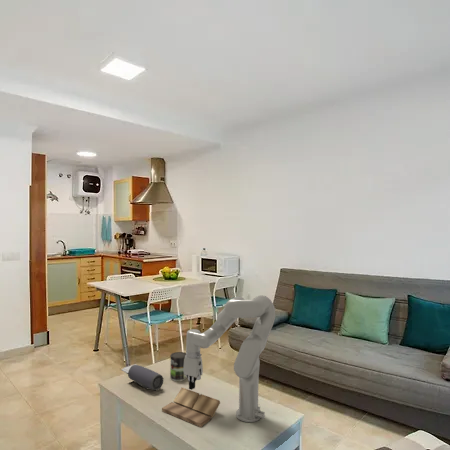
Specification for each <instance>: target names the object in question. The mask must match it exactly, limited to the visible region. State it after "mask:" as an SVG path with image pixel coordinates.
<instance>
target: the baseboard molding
mask: <svg viewBox="0 0 450 450" xmlns="http://www.w3.org/2000/svg"><path fill="white" fill-rule="evenodd" d="M133 365H137V364H136V363H133V364H132V363H131V364H130V363H128V364H126V366H124V367H122V368H120V371H122V372H124V373H125V374H128V372H129V369H130V367H131V366H133ZM164 378H165V377H163V380H164Z"/></svg>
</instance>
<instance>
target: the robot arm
mask: <svg viewBox="0 0 450 450" xmlns="http://www.w3.org/2000/svg"><path fill="white" fill-rule="evenodd" d="M275 308H276V307H275V305H274V303H273V302H272V300H271V299H270V297H268V296H267V295H258V296H255V297H254V298H252V299H245V298H244V297H242V296H235V297H233V298H231V299H229V300H227V301H226V303H225V305H224V308H223V309H222V310H221V311H220V312H219V313H218V314H217V316H216V320H215V321H214V323H213V324H212V325H211V326H210V327H209V328H208V329H207V330H205V331H204V332H201V331H200V330H199V329H196V328H195V329H194V328H193V329H188V330H187V331H186V339H185V342H186V343H185V351H186V352H185V353H186V355H185V359H184V367H183V372H184V375H185V376H187V378H186V379H187V381H188V390H191V391H193V390H194V389H196V381H200V380H202V376H203V373H204V372H203V371H204V370H203V369H204V367H203V359H202V353H201V349H208V348H210V346H212V345H213V344H215V343H216V342H217V341H218V340H220V338H221V337H222V336H223V335H224V334H225V332H227V330H228V329H230V327H231V326H232V325H233V324H234V323H235V322H236V320H237V319H240V318H241V319H242V318H243V319H246V318H248V319H249V318H250V319H251V318H253V319H254V318H256V320H255V321H254V325H253V327H252V329H251V332H250V333H249V335H247V337H246V338H245V339H244V340H243V342H242V343H241V345H240V347H239V350H238V352H237V356H236V358H235V360H234V364H233V371H234V373H235V375H236V376H237V377H238V378H239V382H238V383H239V385H238V386H239V387H238V389H239V390H238V403H239V404H238V409H237V410H236V411H235V416H236V418H237V419H238V420H239V421H241V422H243V423H254V422H257V421H259V420H261V419H265V417H266V415H265V414H266V413H265V411H261V406H259V380H260V379H259V378H260V377H259V376H260V366H261V365H260V363H261V361H260V355H261V354H262V352H263V351H264V349H265V348H266V345H267V341H268V339H269V338H270V337H269V336H270V334H271V331H272V328H273V326H274V324H275V323H274V322H275V319H276V309H275Z"/></svg>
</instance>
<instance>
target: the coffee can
mask: <svg viewBox="0 0 450 450" xmlns="http://www.w3.org/2000/svg"><path fill="white" fill-rule="evenodd" d="M185 355H186V352H183V351H176V352H172V353H171V354H170V371H169V372H170V373H169V374H170V376H169V378H170V380H171V381H174V382H181V381H185V380H186V379H188V378H187V376H185V375H184V372H183V367H184V359H185Z"/></svg>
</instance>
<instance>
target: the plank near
mask: <svg viewBox="0 0 450 450" xmlns="http://www.w3.org/2000/svg"><path fill="white" fill-rule="evenodd" d="M199 394H200V396H199V398H198V400H197V401H196V403H195V405H194V407H193V408H192V409H191V410H193V411H196V412H199V413H201V414H204V415H206V416H209V417H211V419H212V418H214V416H215V414H216V412H217V410H218V408H219V406H220V404H221V401H220V399H217V398H213V397H211V396H208V395H205V394H202V393H199Z"/></svg>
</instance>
